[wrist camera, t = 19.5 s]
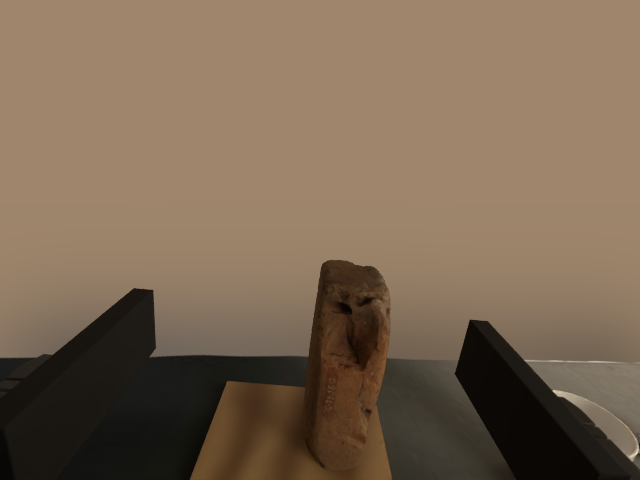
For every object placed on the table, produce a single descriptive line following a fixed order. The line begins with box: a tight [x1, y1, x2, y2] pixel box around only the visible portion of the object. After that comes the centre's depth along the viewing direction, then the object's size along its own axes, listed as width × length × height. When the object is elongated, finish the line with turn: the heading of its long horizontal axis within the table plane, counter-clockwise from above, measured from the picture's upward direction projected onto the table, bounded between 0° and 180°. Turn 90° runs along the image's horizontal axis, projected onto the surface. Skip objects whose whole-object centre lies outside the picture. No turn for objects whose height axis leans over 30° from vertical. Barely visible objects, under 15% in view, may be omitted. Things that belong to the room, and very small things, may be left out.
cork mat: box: [190, 381, 392, 480], centre depth 38 cm, size 20×14×1 cm
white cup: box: [552, 390, 639, 461], centre depth 33 cm, size 8×8×10 cm
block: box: [302, 260, 390, 471], centre depth 35 cm, size 11×8×20 cm
